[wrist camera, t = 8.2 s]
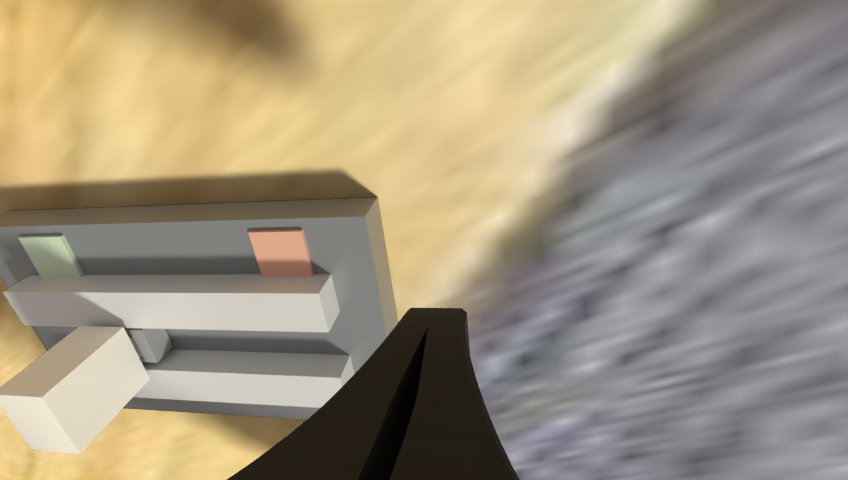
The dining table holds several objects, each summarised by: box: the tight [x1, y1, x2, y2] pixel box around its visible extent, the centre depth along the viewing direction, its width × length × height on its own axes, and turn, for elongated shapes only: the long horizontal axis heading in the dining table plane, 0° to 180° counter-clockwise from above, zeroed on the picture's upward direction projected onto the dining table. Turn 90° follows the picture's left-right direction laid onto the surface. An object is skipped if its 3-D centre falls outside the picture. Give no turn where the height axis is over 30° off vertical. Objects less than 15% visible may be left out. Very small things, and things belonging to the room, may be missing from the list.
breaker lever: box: [0, 326, 173, 454], centre depth 21 cm, size 3×3×6 cm
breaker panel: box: [0, 197, 398, 420], centre depth 23 cm, size 20×12×4 cm, turn 96°
